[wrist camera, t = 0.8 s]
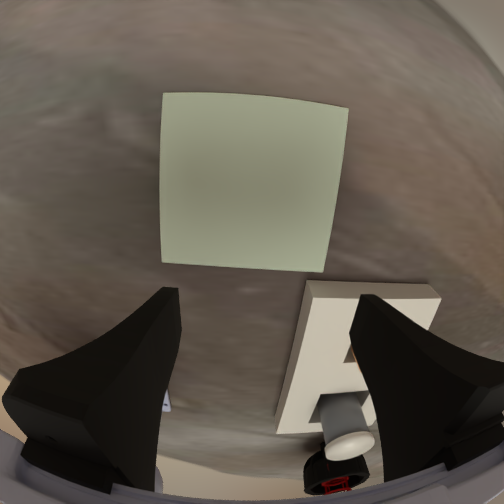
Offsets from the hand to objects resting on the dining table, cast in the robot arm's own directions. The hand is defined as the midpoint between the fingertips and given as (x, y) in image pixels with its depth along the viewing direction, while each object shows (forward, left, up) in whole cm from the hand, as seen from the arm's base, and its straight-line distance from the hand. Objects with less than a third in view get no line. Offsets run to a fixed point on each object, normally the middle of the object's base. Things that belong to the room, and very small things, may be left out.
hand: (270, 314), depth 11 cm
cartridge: (-18, -10, -10) cm, 23 cm away
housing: (-14, -10, -10) cm, 20 cm away
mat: (+3, +1, -10) cm, 11 cm away
